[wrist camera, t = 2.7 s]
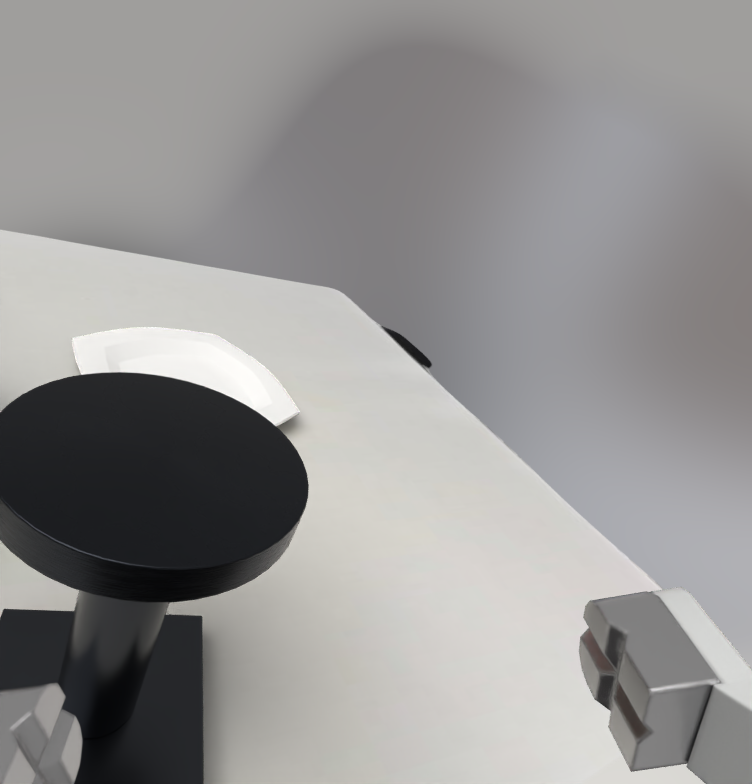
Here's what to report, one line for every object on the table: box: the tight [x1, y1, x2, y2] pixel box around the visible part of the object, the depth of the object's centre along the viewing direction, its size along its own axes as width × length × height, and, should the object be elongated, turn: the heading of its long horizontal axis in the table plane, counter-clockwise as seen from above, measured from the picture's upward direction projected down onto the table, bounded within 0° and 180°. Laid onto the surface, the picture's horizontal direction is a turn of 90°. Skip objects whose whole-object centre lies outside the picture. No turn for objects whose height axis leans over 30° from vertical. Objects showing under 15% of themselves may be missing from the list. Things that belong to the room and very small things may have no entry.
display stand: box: [0, 372, 309, 784], centre depth 24 cm, size 11×11×16 cm
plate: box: [72, 327, 300, 427], centre depth 55 cm, size 19×19×2 cm
